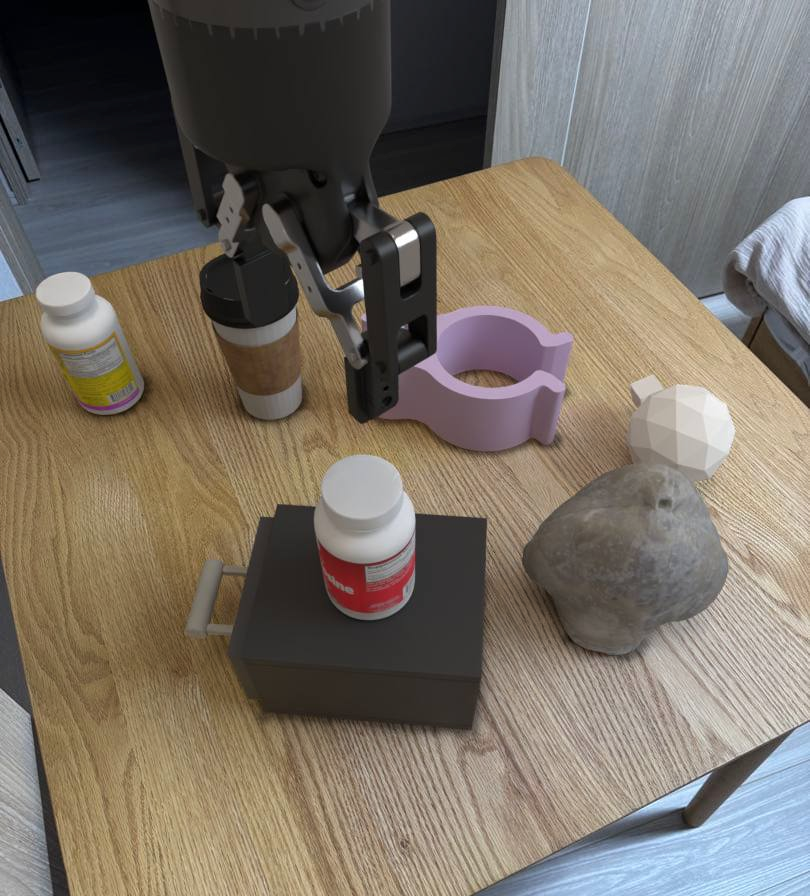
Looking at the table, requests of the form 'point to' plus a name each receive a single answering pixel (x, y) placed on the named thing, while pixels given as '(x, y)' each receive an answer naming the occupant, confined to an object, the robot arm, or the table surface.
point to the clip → (479, 408)
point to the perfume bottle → (679, 428)
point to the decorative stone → (628, 557)
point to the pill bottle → (366, 537)
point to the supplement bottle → (88, 344)
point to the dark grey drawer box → (371, 631)
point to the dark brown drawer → (207, 598)
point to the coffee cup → (255, 342)
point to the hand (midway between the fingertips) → (317, 361)
